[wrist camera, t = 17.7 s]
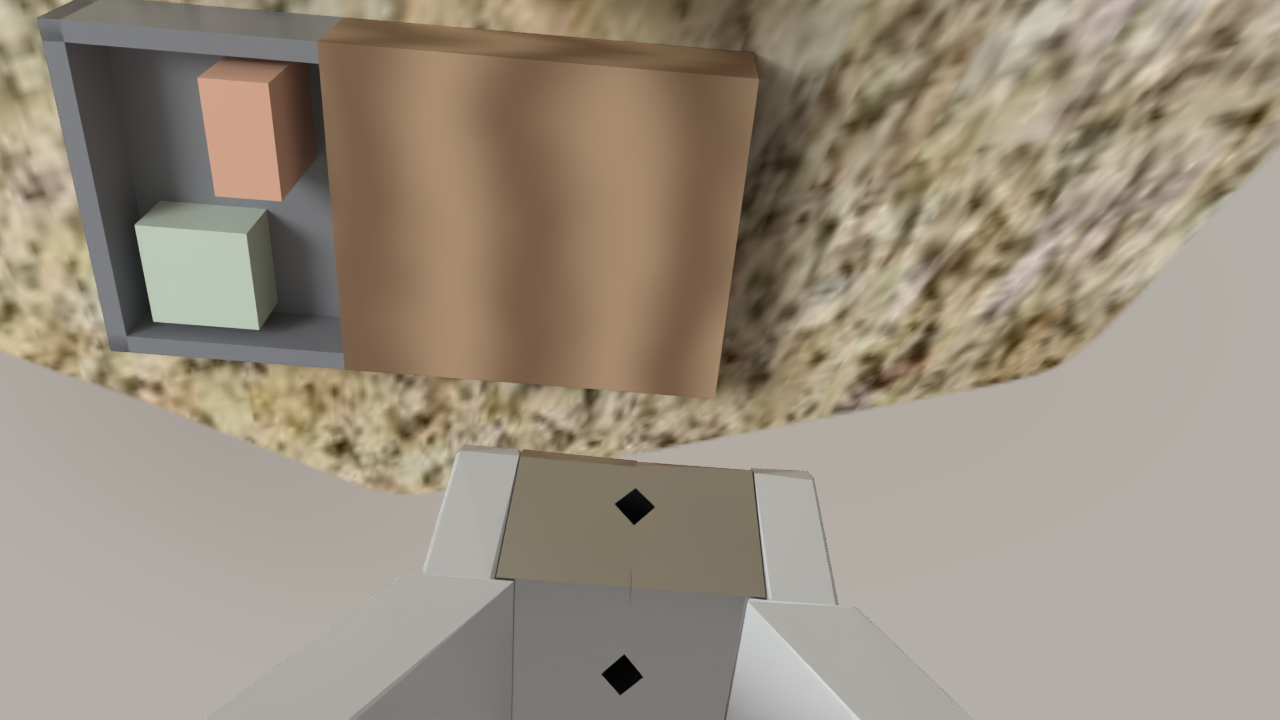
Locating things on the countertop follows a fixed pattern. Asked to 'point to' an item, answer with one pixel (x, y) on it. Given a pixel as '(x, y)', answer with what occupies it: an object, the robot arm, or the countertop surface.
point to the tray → (186, 166)
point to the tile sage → (207, 264)
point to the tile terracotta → (257, 126)
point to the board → (534, 204)
